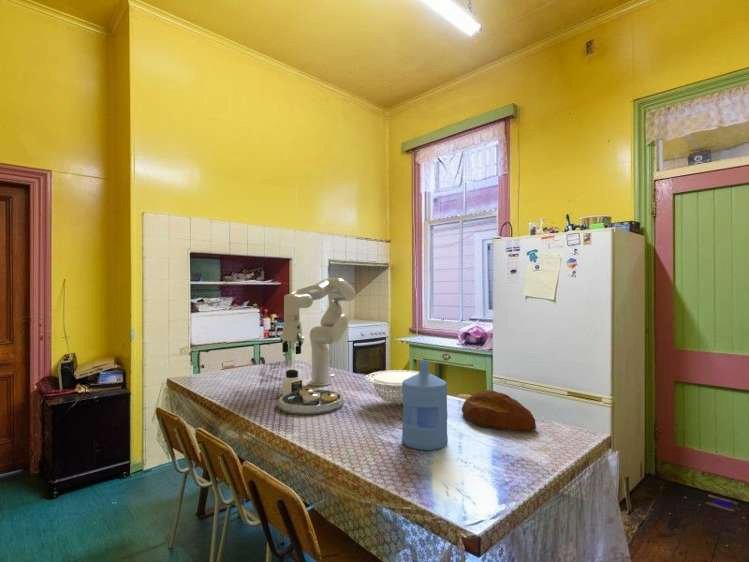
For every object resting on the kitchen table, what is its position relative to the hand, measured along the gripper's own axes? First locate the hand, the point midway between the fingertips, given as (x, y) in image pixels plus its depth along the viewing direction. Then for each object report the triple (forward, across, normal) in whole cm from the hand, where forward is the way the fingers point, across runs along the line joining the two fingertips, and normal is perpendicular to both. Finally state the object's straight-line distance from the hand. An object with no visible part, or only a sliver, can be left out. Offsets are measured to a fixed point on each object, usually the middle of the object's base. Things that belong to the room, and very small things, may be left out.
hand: (291, 352), depth 209 cm
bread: (+21, -98, -20) cm, 102 cm away
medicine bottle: (+21, 0, 0) cm, 21 cm away
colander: (+21, -54, -16) cm, 60 cm away
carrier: (+21, -22, +8) cm, 31 cm away
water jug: (+21, -86, +15) cm, 90 cm away
